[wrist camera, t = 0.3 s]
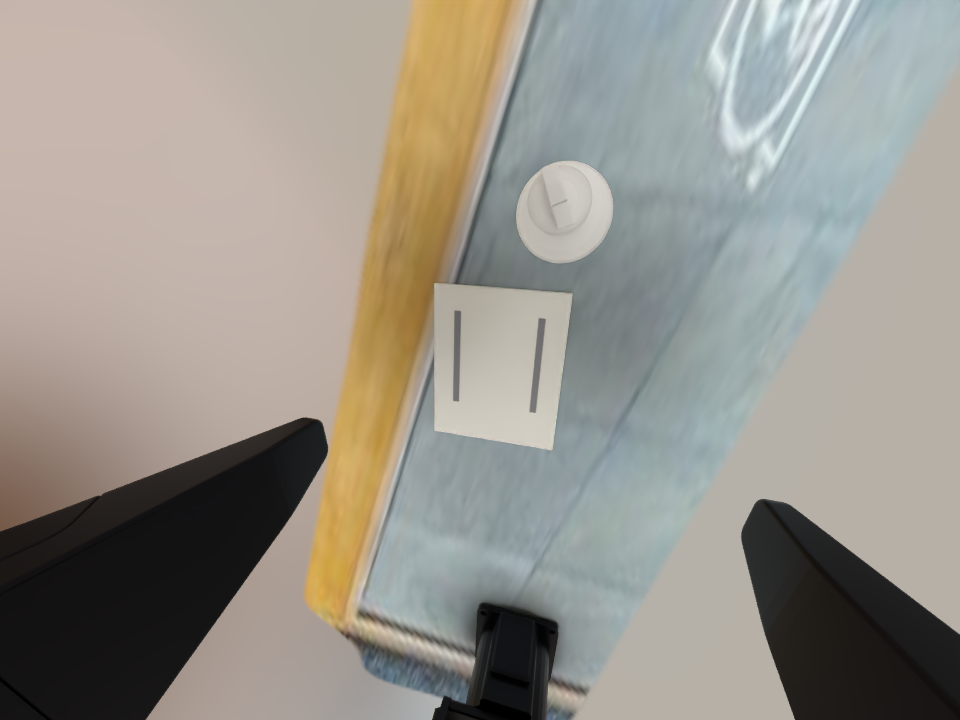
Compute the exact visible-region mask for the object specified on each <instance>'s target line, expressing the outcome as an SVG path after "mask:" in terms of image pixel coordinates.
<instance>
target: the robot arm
mask: <svg viewBox="0 0 960 720" xmlns="http://www.w3.org/2000/svg"><path fill="white" fill-rule="evenodd" d="M327 453H328V444H327V440H326V435H325V432H324V427H323V424H322V422H321V421H319V420H317V419H312V418H300V419H297V420H295V421H292V422H290V423H287V424H284V425H282V426H279V427H276V428H274V429H271V430H269V431H266V432H263V433H261V434H258V435H256V436H253V437H250V438H248V439H245V440H243V441H240V442H237V443H234V444H232V445H229V446H227V447H224V448H221V449H219V450H216V451H213V452H211V453H208V454H206V455H203V456H200V457H198V458H195V459H192V460H190V461H187V462H185V463H182V464H180V465H177V466H174V467H172V468H169V469H166V470H164V471H161V472H159V473H156V474H153V475H151V476H148V477H145V478H143V479H141V480H137V481H135V482H132V483H130V484H127V485H124V486H122V487H119V488H116V489H114V490H111V491H109V492H106V493H104V494H102V496H95V497H93V498H90V499H88V500H85V501H82V502H80V503H77V504H74V505H72V506H69V507H66V508H64V509H61V510H58V511H56V512H53V513H50V514H47V515H45V516H42V517H39V518H37V519H34V520H31V521H29V522H26V523H23V524H20V525H17V526H14V527H12V528H9V529H6V530H3V531H0V720H146V718H147V717H148V716H149V714H150V713H151V711H152V710H153V709H154V707H155V706H156V704H157V703H158V702H159V700H160V699H161V697H162V696H163V695H164V693H165V692H166V691H167V689H168V688H169V686H170V685H171V684H172V682H173V681H174V679H175V678H176V677H177V675H178V674H179V672H180V671H181V670H182V668H183V667H184V665H185V664H186V663H187V661H188V660H189V658H190V657H191V656H192V654H193V653H194V652H195V650H196V649H197V647H198V646H199V644H200V643H201V642H202V640H203V639H204V637H205V636H206V635H207V633H208V632H209V631H210V629H211V628H212V626H213V625H214V624H215V622H216V621H217V619H218V618H219V617H220V615H221V614H222V612H223V611H224V610H225V608H226V607H227V605H228V604H229V603H230V601H231V600H232V599H233V597H234V596H235V594H236V593H237V591H238V590H239V589H240V587H241V586H242V585H243V583H244V582H245V580H246V579H247V577H248V576H249V575H250V573H251V572H252V571H253V569H254V568H255V566H256V565H257V564H258V562H259V561H260V559H261V558H262V556H263V555H264V554H265V552H266V551H267V550H268V548H269V547H270V546H271V544H272V542H273V541H274V540H275V538H276V537H277V536H278V534H279V533H280V531H281V530H282V529H283V527H284V526H285V525H286V523H287V522H288V520H289V518H290V517H291V516H292V514H293V513H294V511H295V509H296V508H297V506H298V504H299V503H300V501H301V499H302V498H303V496H304V494H305V493H306V491H307V489H308V487H309V486H310V484H311V482H312V481H313V479H314V477H315V476H316V474H317V472H318V470H319V469H320V467H321V465H322V464H323V462H324V460H325V458H326V456H327ZM741 538H742V545H743V549H744V553H745V557H746V561H747V565H748V569H749V573H750V577H751V581H752V585H753V590H754V594H755V597H756V602H757V606H758V609H759V614H760V618H761V622H762V625H763V629H764V632H765V636H766V639H767V641H768V644H769V647H770V651H771V653H772V656H773V659H774V662H775V665H776V668H777V670H778V673H779V676H780V679H781V682H782V684H783V687H784V690H785V693H786V695H787V698H788V701H789V704H790V707H791V709H792V712H793V715H794V718H795V720H960V634H958V633H957V632H956V631H954V630H953V629H952V628H950V627H949V626H948V625H947V624H945V623H944V622H943V621H941V620H940V619H938V618H937V617H936V616H935V615H933V614H932V613H931V612H929V611H928V610H927V609H926V608H924V607H923V606H922V605H920V604H919V603H918V602H916V601H915V600H914V599H913V598H911V597H910V596H909V595H907V594H906V593H905V592H903V591H902V590H901V589H899V588H898V587H897V586H895V585H894V584H893V583H892V582H890V581H889V580H888V579H886V578H885V577H884V576H882V575H881V574H880V573H878V572H877V571H876V570H874V569H873V568H872V567H871V566H869V565H868V564H867V563H865V562H864V561H863V560H861V559H860V558H859V557H858V556H856V555H855V554H854V553H852V552H851V551H850V550H848V549H847V548H846V547H844V546H843V545H842V544H840V543H839V542H838V541H836V540H835V539H834V538H833V537H831V536H830V535H829V534H827V533H826V532H825V531H823V530H822V529H821V528H819V527H818V526H817V525H816V524H814V523H813V522H812V521H810V520H809V519H808V518H806V517H805V516H804V515H803V514H801V513H800V512H798V511H797V510H796V509H795V508H793V507H792V506H790V505H789V504H787V503H784V502H778V501H773V500H767V499H760V500H758V501H757V502H756V503H755V504H754V507H753V509H752V511H751V513H750V514H749V517H748V518H747V520H746V522H745V524H744V526H743V529H742V534H741ZM557 639H558V625H557V624H555V623H553V622H549V621H546V620H542V619H538V618H534V617H530V616H527V615H523V614H519V613H515V612H512V611H508V610H504V609H500V608H497V607H493V606H489V605H485V604H481V605H479V608H478V614H477V632H476V649H475V657H476V660H475V664H474V669H473V673H472V678H471V682H470V687H469V691H468V696H467V700H466V704H464V703H461V702H458V701H455V700H452V698H451V697H448V696H445V695H444V698H443V701H442V704H441V707H439V708H436V709H435V712H434V715H433V719H432V720H546V714H547V694H548V680H550V678H551V673H552V667H553V662H554V656H555V650H556V644H557Z"/></svg>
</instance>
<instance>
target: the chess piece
mask: <svg viewBox="0 0 960 720" xmlns="http://www.w3.org/2000/svg"><path fill="white" fill-rule="evenodd" d="M612 218H613V198H612V194H611V191H610V188H609V186H608V184H607V182H606V180H605V179H604V178H603V176H602V175H601V174H600V173H599V172H598V171H596V170H595V169H594V168H592V167H591V166H589V165H587V164H584V163H581V162H577V161H560V162H554V163H552V164H550V165H547V166H545V167H543V168H541V170H540V171H538V172H537V173H536V174H535V175H534V176H533V177H532V178H531V179H530V180H529V181H528V183H527V184H526V185H525V187H524V189H523V191H522V193H521V195H520V197H519V200H518V204H517V210H516V223H517V229H518V232H519V235H520V238H521V240H522V242H523V243H524V245H525V246H526V247H527V249H528V250H529V251H530V252H531V253H533V254H534V255H535V256H537V257H538V258H540V259H542V260H544V261H547V262H551V263H570V262H574V261H577V260H579V259H582V258H584V257H585V256H587V255H589V254H590V253H591V252H593V251H594V250H595V249H596V248H597V247H598V246H599V245H600V244H601V242H602V241H603V239H604V238H605V236H606V235H607V233H608V230H609V228H610V225H611V222H612Z"/></svg>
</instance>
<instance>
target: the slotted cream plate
mask: <svg viewBox="0 0 960 720" xmlns="http://www.w3.org/2000/svg"><path fill="white" fill-rule="evenodd" d="M572 297H573V293H567V292H554V291H540V290H527V289H514V288H501V287H488V286H475V285H462V284H449V283H434V403H435V431H440V432H446V433H452V434H458V435H464V436H470V437H476V438H482V439H488V440H494V441H500V442H506V443H512V444H518V445H524V446H530V447H536V448H542V449H548V450H553V442H554V434H555V427H556V419H557V411H558V404H559V396H560V388H561V381H562V373H563V366H564V358H565V350H566V343H567V335H568V327H569V320H570V312H571V304H572Z"/></svg>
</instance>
